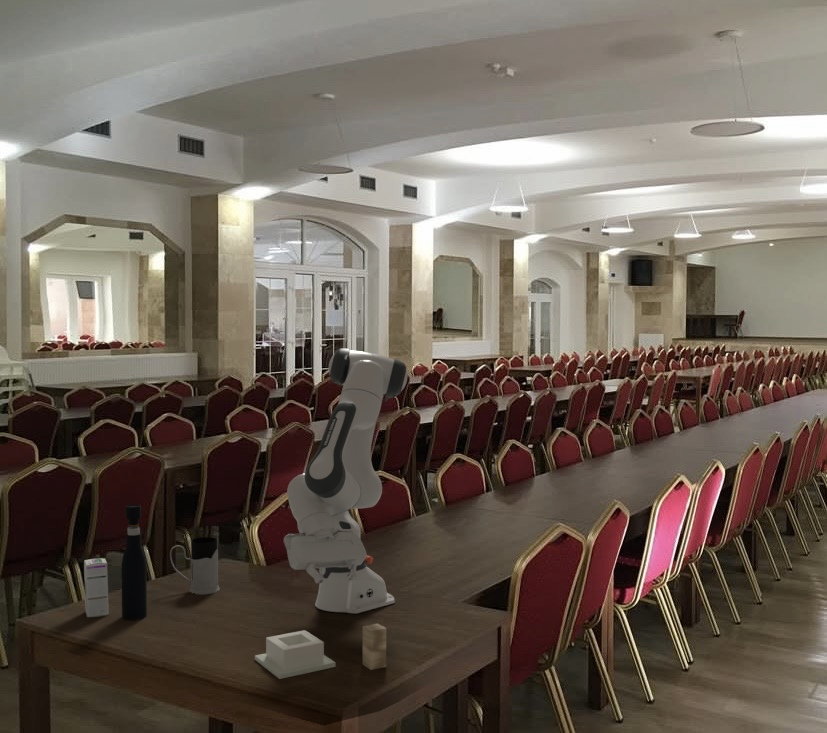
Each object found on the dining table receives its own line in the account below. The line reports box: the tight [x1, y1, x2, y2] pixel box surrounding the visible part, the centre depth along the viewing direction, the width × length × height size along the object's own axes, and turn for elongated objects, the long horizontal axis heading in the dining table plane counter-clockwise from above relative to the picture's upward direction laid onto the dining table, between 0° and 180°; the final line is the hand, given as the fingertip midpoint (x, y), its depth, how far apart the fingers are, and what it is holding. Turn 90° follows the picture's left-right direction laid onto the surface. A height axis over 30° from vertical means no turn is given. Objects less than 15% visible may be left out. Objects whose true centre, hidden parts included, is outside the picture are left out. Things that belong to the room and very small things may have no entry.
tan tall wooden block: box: [362, 623, 387, 671], centre depth 215 cm, size 4×4×9 cm
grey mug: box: [169, 536, 220, 595], centre depth 274 cm, size 9×14×15 cm, turn 102°
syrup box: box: [83, 557, 110, 618], centre depth 252 cm, size 6×6×14 cm
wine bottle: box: [121, 504, 148, 621], centre depth 249 cm, size 6×6×30 cm
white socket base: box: [254, 629, 337, 680], centre depth 216 cm, size 14×14×6 cm
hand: (337, 580), depth 221 cm, fingers open, 8 cm apart
